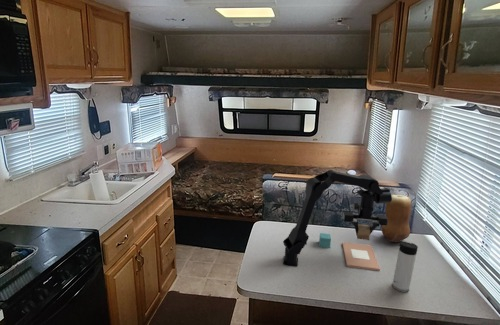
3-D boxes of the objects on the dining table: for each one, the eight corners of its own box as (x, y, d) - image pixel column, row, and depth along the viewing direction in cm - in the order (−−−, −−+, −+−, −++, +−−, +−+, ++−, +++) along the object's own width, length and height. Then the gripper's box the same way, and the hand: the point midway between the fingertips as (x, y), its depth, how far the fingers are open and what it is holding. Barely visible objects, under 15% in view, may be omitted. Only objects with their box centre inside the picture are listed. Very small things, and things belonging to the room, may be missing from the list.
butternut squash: (388, 231, 175) (395, 189, 168) (412, 242, 165) (421, 197, 158) (374, 238, 167) (381, 194, 160) (398, 250, 157) (407, 203, 150)
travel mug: (391, 289, 127) (399, 245, 122) (392, 280, 133) (401, 237, 128) (408, 294, 125) (418, 249, 119) (409, 285, 130) (418, 242, 125)
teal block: (329, 248, 156) (330, 239, 155) (319, 246, 157) (320, 237, 156) (329, 243, 161) (330, 234, 160) (319, 241, 162) (320, 233, 160)
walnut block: (368, 240, 144) (370, 230, 143) (357, 238, 145) (358, 229, 143) (366, 234, 149) (368, 225, 147) (355, 233, 150) (357, 224, 148)
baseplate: (379, 270, 139) (380, 268, 139) (346, 266, 141) (347, 264, 141) (371, 247, 158) (371, 245, 158) (342, 243, 160) (342, 241, 160)
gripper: (384, 198, 148) (380, 228, 153) (343, 195, 151) (340, 224, 156) (390, 208, 138) (385, 240, 142) (346, 204, 141) (342, 236, 145)
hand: (362, 234), depth 147 cm, fingers closed on walnut block, 5 cm apart
